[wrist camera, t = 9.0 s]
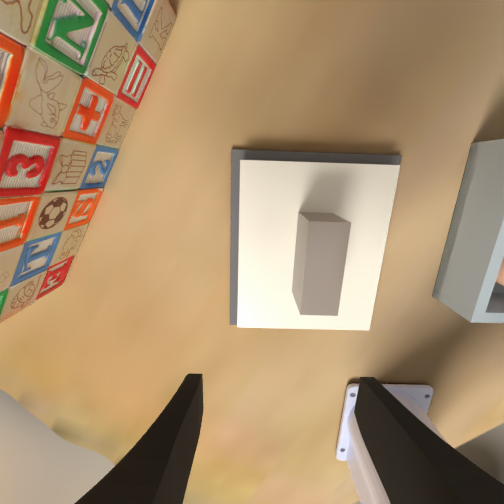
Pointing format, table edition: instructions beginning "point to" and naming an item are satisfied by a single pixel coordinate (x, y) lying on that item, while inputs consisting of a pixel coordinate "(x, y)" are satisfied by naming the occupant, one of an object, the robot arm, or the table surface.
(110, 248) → the table surface
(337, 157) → the mat
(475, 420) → the table surface
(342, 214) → the lid
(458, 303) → the box
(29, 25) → the stack of blocks
